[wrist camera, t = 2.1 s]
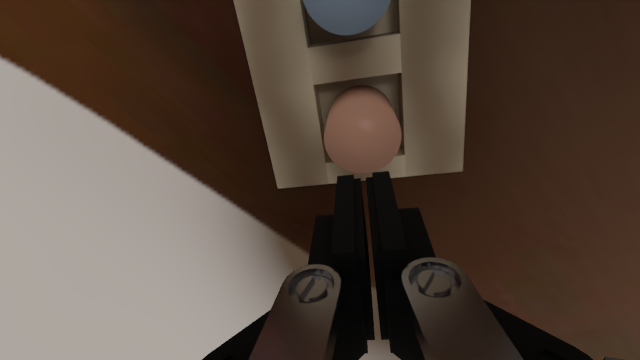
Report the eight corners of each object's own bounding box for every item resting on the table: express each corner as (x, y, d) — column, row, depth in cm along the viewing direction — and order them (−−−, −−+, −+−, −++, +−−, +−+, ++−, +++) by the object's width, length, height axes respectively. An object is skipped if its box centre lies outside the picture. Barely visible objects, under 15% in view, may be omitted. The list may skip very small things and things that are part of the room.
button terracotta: (391, 80, 19) (399, 95, 16) (395, 144, 21) (402, 169, 18) (323, 89, 20) (318, 105, 16) (332, 151, 22) (329, 176, 18)
